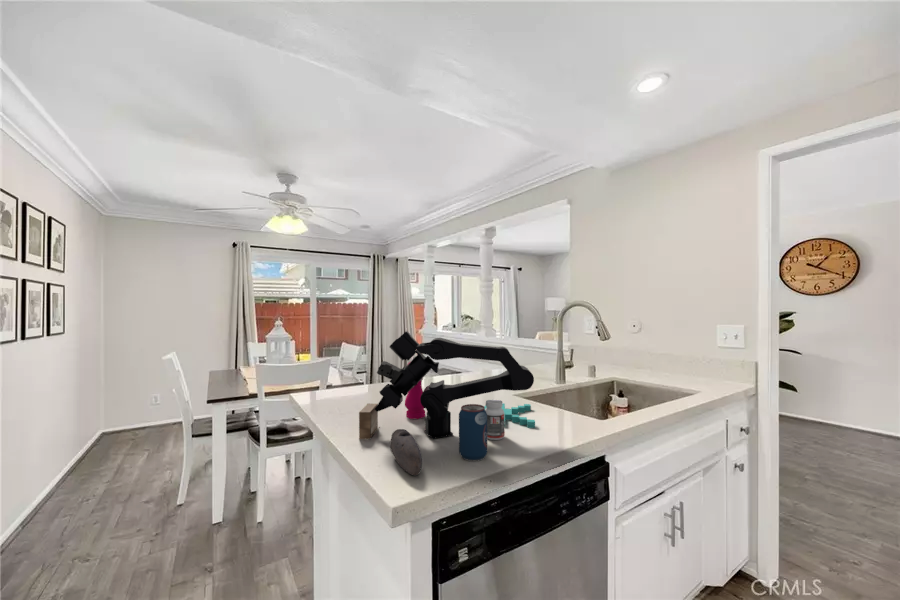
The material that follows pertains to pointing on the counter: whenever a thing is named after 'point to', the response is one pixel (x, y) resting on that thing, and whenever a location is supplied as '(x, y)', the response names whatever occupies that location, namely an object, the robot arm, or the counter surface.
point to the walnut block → (368, 421)
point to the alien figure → (516, 418)
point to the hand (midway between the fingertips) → (376, 410)
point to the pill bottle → (495, 419)
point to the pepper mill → (414, 402)
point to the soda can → (473, 432)
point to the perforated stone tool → (406, 451)
